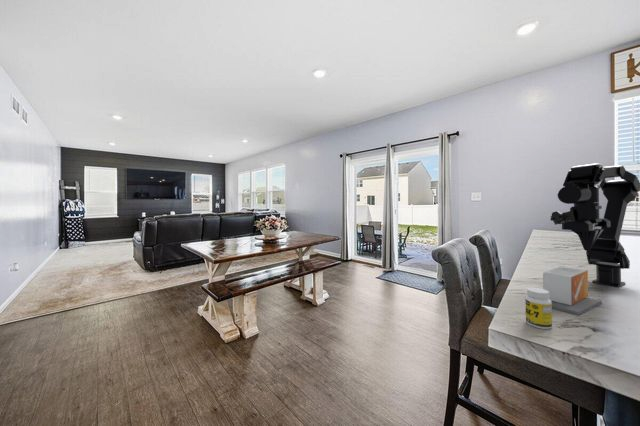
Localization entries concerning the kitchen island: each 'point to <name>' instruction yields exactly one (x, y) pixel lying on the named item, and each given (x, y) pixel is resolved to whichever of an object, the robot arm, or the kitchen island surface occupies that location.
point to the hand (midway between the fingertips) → (587, 250)
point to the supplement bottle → (538, 308)
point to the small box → (566, 284)
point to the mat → (577, 306)
